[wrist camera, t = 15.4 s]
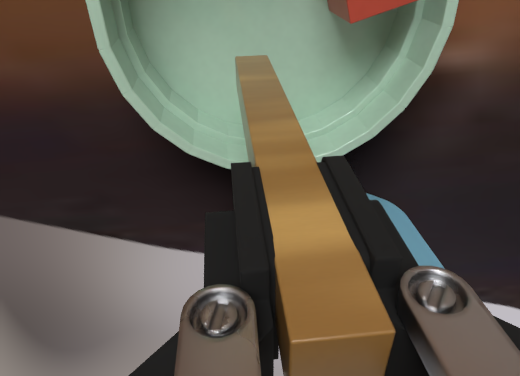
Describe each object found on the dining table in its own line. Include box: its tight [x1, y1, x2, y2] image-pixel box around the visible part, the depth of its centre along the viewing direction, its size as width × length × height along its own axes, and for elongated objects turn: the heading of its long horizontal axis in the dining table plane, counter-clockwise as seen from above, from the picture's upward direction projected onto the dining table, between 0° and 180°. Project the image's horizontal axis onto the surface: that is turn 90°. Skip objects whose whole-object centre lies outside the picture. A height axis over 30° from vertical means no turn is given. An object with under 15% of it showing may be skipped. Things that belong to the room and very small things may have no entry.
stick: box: [235, 55, 396, 376], centre depth 13 cm, size 2×2×16 cm
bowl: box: [85, 0, 459, 169], centre depth 20 cm, size 17×17×5 cm
